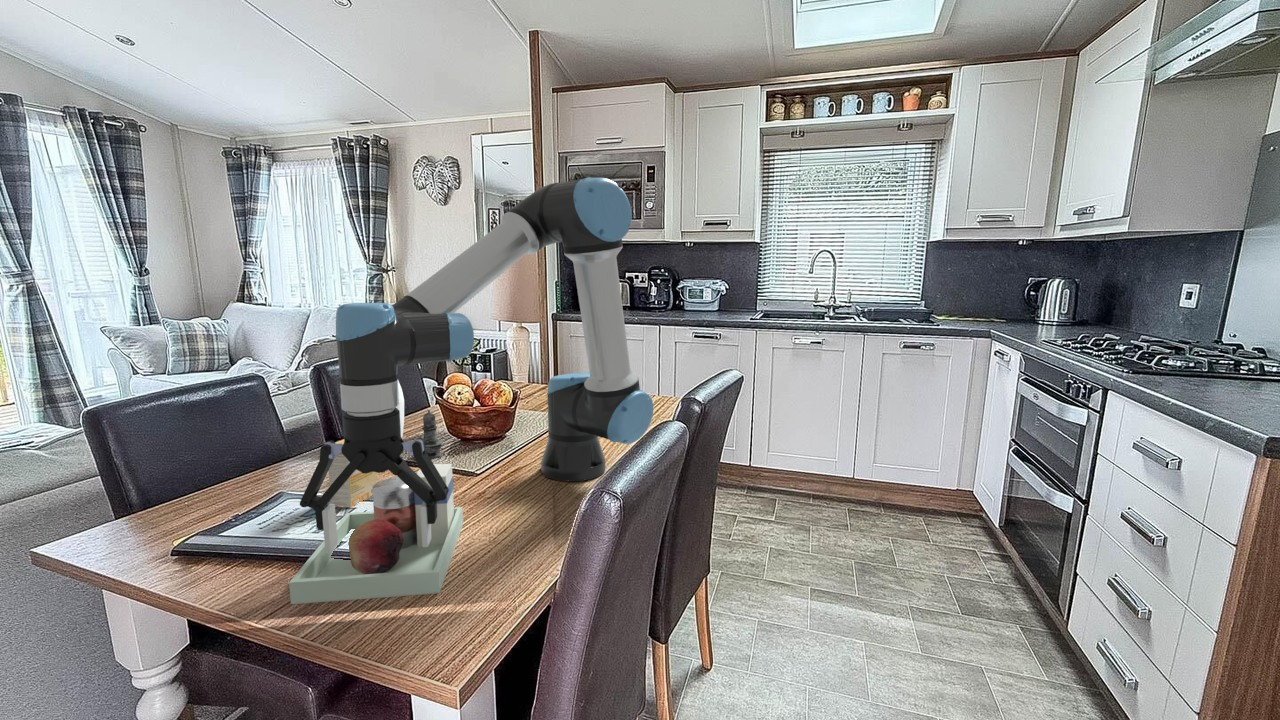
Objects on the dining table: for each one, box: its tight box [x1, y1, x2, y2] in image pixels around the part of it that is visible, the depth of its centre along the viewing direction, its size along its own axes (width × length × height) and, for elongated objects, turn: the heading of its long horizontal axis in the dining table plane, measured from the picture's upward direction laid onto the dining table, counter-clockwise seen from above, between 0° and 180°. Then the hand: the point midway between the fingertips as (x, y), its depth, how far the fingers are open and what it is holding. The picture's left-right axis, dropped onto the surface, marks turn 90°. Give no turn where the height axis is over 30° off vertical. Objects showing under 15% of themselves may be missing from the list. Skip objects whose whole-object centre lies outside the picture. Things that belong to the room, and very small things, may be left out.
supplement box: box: [328, 438, 379, 508], centre depth 109 cm, size 8×5×13 cm, turn 168°
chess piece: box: [421, 409, 444, 460], centre depth 137 cm, size 6×6×12 cm
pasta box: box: [414, 463, 455, 546], centre depth 94 cm, size 5×6×12 cm
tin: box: [372, 476, 417, 549], centre depth 93 cm, size 7×7×10 cm
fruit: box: [348, 519, 404, 574], centre depth 83 cm, size 8×8×8 cm
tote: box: [288, 506, 464, 605], centre depth 88 cm, size 20×22×4 cm
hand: (380, 545), depth 83 cm, fingers open, 13 cm apart
